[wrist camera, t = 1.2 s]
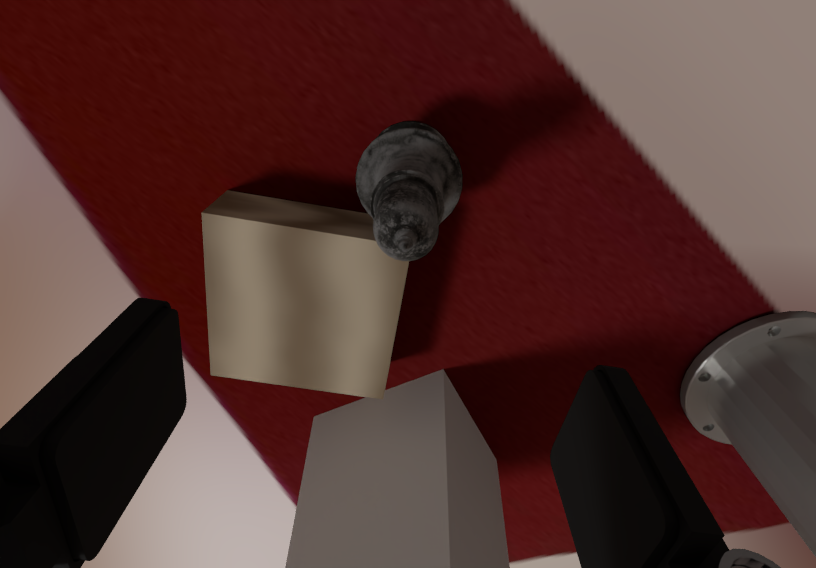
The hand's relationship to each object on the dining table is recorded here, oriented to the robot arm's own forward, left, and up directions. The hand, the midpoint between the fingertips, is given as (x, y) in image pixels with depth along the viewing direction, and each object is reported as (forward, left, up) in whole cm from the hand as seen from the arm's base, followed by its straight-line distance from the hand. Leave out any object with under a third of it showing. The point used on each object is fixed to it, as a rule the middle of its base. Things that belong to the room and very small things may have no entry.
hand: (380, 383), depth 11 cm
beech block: (+5, +10, -20) cm, 23 cm away
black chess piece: (0, 0, -20) cm, 20 cm away
